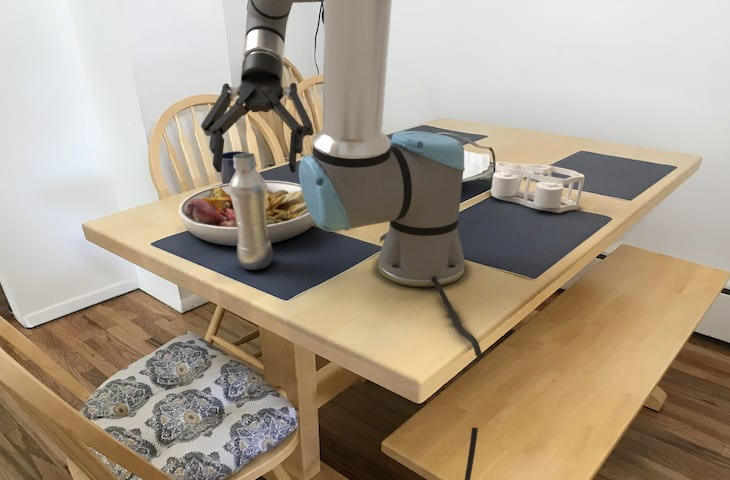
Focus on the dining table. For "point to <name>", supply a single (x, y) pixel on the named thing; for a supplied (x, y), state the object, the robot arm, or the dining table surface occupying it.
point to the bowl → (218, 222)
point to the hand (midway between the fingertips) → (254, 168)
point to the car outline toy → (546, 189)
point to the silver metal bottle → (250, 213)
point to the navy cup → (228, 166)
